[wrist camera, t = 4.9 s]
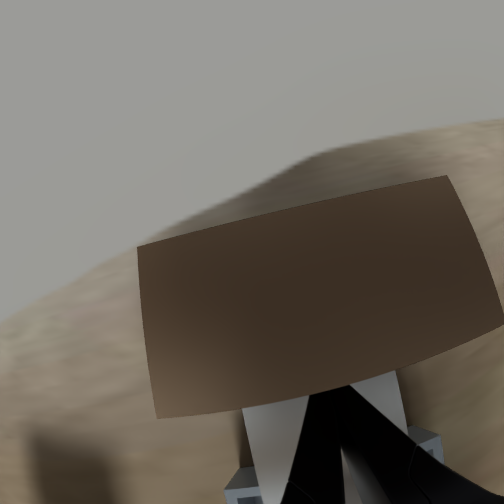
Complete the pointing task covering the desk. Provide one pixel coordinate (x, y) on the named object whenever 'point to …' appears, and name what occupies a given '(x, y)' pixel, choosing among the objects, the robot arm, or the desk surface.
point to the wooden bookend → (311, 311)
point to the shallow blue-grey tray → (246, 483)
